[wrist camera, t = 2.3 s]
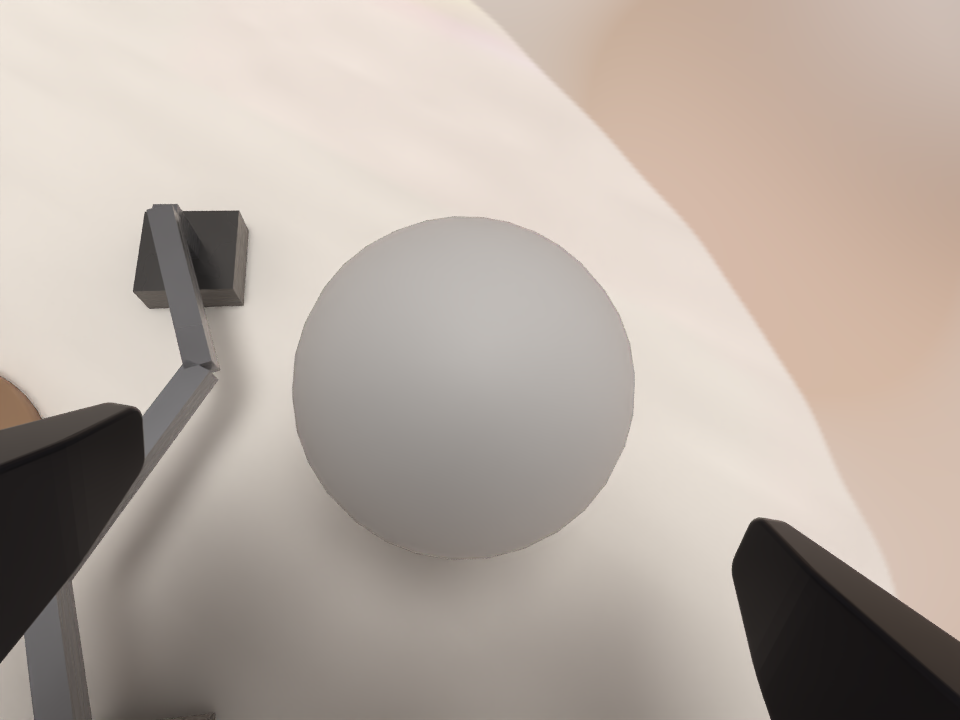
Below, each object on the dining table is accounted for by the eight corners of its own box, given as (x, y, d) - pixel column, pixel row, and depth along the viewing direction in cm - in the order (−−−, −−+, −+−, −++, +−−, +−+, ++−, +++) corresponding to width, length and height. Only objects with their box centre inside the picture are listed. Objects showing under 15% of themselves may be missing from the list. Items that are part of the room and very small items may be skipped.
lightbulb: (580, 478, 18) (784, 339, 8) (434, 618, 16) (461, 669, 6) (455, 343, 20) (495, 77, 9) (306, 458, 18) (153, 281, 7)
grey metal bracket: (219, 852, 14) (161, 930, 11) (57, 875, 13) (-55, 965, 10) (258, 230, 20) (228, 165, 17) (149, 232, 20) (99, 165, 17)
